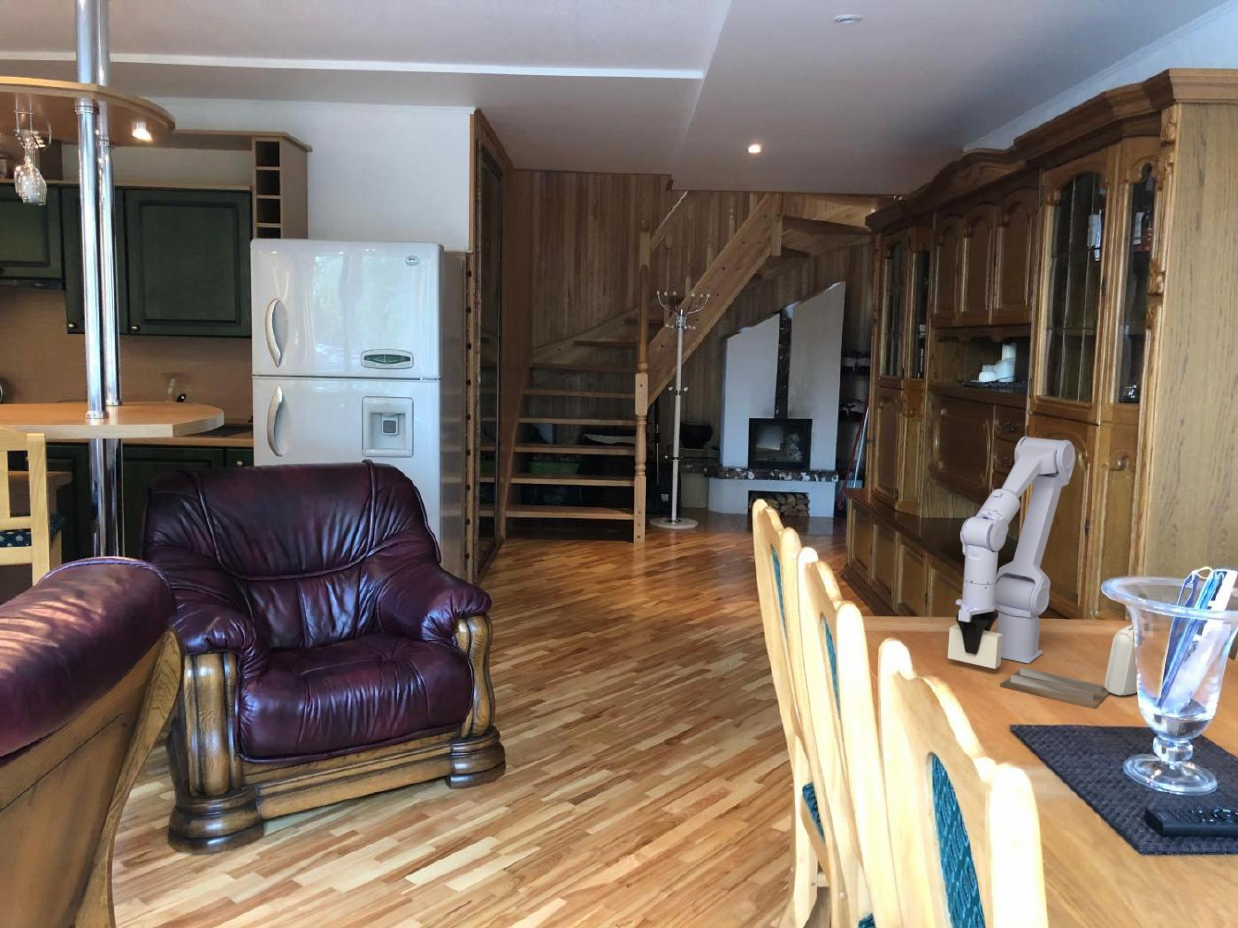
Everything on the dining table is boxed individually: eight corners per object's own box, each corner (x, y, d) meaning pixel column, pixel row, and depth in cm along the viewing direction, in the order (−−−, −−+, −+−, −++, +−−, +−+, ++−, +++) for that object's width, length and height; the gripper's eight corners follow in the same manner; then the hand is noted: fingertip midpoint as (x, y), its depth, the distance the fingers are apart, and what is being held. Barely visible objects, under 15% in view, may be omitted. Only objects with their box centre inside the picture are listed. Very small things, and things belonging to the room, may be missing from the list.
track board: (1020, 670, 186) (1021, 662, 186) (1112, 691, 176) (1112, 682, 176) (999, 686, 177) (1000, 677, 177) (1094, 708, 167) (1095, 699, 167)
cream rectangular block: (953, 654, 190) (955, 624, 189) (1000, 664, 184) (1002, 634, 184) (947, 657, 188) (949, 627, 187) (995, 668, 182) (997, 637, 181)
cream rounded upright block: (1130, 681, 181) (1142, 617, 179) (1153, 690, 178) (1166, 625, 176) (1099, 689, 176) (1111, 623, 173) (1122, 698, 172) (1135, 631, 170)
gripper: (972, 571, 192) (967, 638, 194) (944, 583, 181) (939, 654, 183) (1008, 577, 188) (1003, 645, 189) (982, 590, 177) (977, 663, 178)
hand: (974, 650), depth 186 cm, fingers closed on cream rectangular block, 3 cm apart
